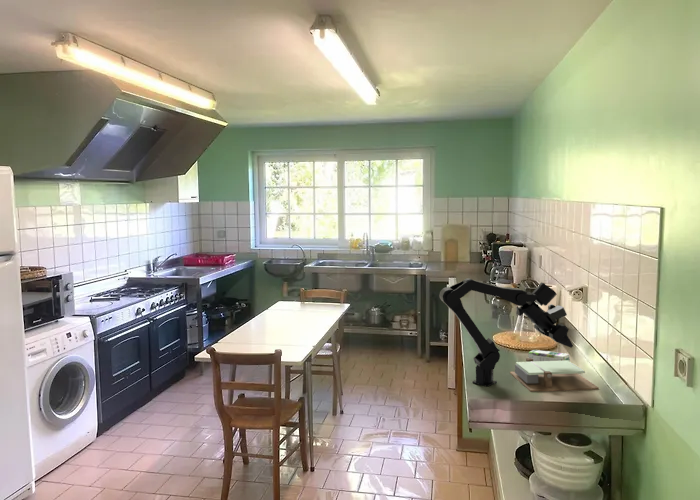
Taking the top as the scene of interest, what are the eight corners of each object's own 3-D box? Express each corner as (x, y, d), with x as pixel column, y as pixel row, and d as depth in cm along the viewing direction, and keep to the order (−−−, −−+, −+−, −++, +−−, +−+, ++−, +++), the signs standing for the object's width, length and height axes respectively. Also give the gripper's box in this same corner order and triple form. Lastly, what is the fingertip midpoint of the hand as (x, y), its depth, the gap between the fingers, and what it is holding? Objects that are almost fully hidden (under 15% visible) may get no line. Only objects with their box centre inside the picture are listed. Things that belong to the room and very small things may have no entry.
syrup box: (534, 349, 222) (569, 352, 212) (534, 363, 222) (570, 367, 212) (527, 352, 218) (563, 355, 208) (528, 366, 218) (564, 371, 208)
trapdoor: (527, 384, 191) (527, 372, 191) (514, 372, 205) (514, 361, 205) (584, 382, 192) (584, 370, 191) (567, 370, 206) (567, 359, 205)
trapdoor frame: (530, 391, 187) (530, 374, 187) (509, 373, 209) (509, 357, 209) (598, 389, 188) (598, 372, 187) (571, 370, 210) (571, 355, 209)
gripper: (562, 303, 187) (594, 333, 188) (542, 295, 206) (570, 322, 207) (540, 326, 188) (571, 356, 189) (521, 316, 206) (550, 343, 207)
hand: (566, 343), depth 198 cm, fingers open, 9 cm apart
